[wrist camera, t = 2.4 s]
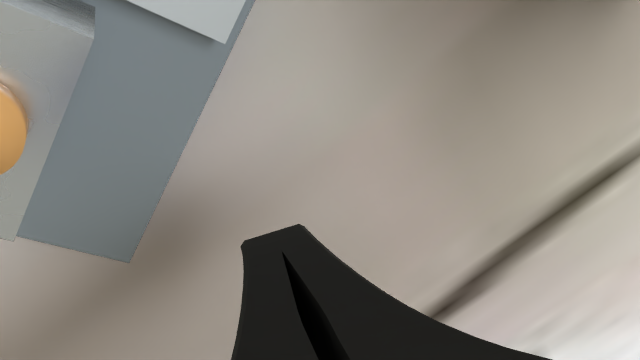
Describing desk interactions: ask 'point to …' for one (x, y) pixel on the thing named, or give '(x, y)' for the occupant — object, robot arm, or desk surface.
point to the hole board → (129, 120)
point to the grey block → (35, 90)
